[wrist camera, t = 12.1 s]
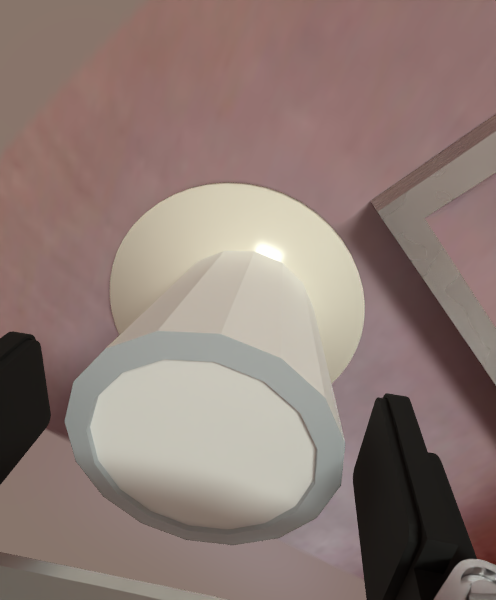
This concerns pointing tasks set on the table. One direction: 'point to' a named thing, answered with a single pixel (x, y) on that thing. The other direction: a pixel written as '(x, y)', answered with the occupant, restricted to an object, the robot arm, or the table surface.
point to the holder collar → (423, 242)
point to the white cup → (214, 407)
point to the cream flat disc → (242, 237)
